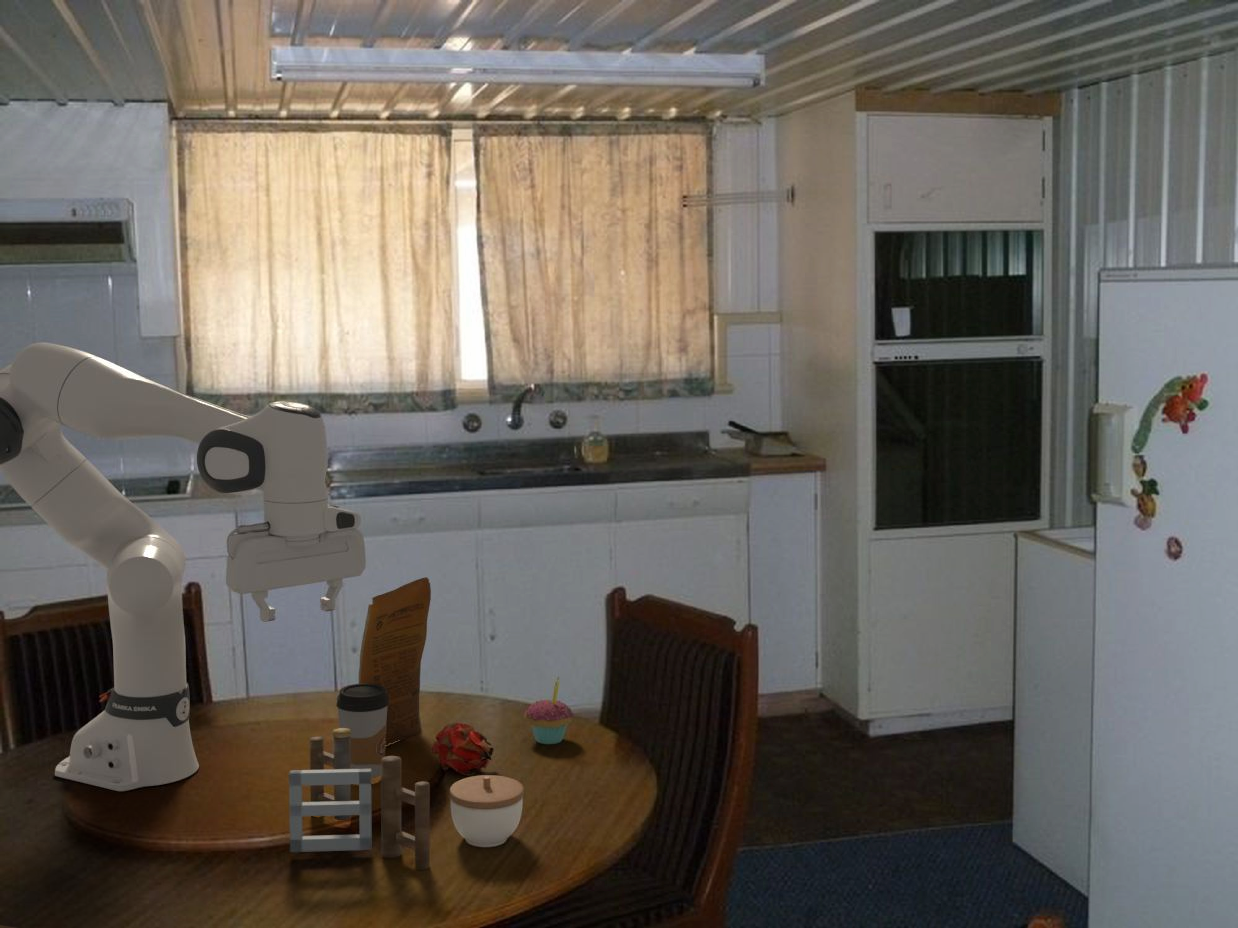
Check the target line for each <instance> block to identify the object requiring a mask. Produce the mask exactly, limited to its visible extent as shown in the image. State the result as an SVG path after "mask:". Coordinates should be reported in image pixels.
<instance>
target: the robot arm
mask: <svg viewBox="0 0 1238 928" xmlns="http://www.w3.org/2000/svg"><path fill="white" fill-rule="evenodd" d="M62 426H63V427H66V428H68V429H71V430H73V431H75V432H78V433H80V434H83V435H87V436H91V437H95V438H99V439H105V440H109V441H110V440H111V441H113V440H114V441H116V440H130V439H131V440H132V439H141V438H142V439H143V438H158V437H159V438H160V437H165V438H176V439H182V440H186V441H188V442H192V443H195V444H197V445H198V448H197V451H196V466H197V470H198V473H199V476H200V477H201V479H202V480H203V481H204V483H205V484H206V485H207V486H208V487H209V488H210V489H212V490H214V491H215V492H218V493H221V494H229V495H236V494H242V493H246V492H249V491H256V490H258V491H259V492H261V493H262V497H263V522H258V523H253V524H248V525H247V524H242V525H238V526H236V527H235V528H234V529H233V530H232V531H230V533H229V534H228V536H227V537H226V552H227V561H226V568H225V569H226V571H225V585H226V586H227V587H228V589H229V590H231V591H232V592H234V593H236V594H238V595H245V594H251V598H252V600H253V602H255V604H256V606H257V607H258V608H259V618H260V621H261V622H263V623H267V622H268V623H269V622H273V621H275V620H276V608H275V607H272V606H269V605H268V603H267V601H266V600H265V599H267V598H268V597H269V595H268V594H269V593H268V592H269V591H273V590H279V589H285V588H290V587H298V586H304V585H305V586H306V585H311V584H315V583H325V582H326V585H328V589H327V590H326V591H327V592H326V594H325V595H324V597H322V596H321V597H320V599H319V603H320V607H319V608H320V610H321V611H323V612H332V611H335V610H336V599H337V598H338V596H339V593H340V592H341V590H342V588H343V579H348V578H355V577H360V576H361V575H362V574H363V573H364V571H365V569H366V564H367V563H366V562H367V561H366V560H367V559H366V558H367V557H366V547H365V539H364V535H363V533H362V532H361V530H359V529H358V528H359V527H360V526H361V523H362V517H361V515H360V513H359V512H355V511H353V510H350V509H345V508H341V507H339V506H337V505H334V504H329V492H328V489H327V486H326V476H327V475H326V474H327V471H328V467H329V458H328V455H329V454H328V441H327V433H326V432H327V431H326V426H325V422H324V418H323V416H322V415H321V413H320V411H319V410H317V408H315V407H313V406H310V405H307V404H304V403H300V402H294V401H293V402H292V401H274V402H270V403H268V404H267V405H265V406H264V407H263V409H261V410H260V411H259V412H257V413H255V414H253V415H251V416H249V415H246V414H242V413H239V412H237V411H233V410H231V409H228V408H225V407H222V406H220V405H216V404H213V403H211V402H208V401H206V400H203V399H200V398H197V397H194V396H191V395H188V394H185V393H182V392H180V391H177V390H175V389H172V388H170V387H167V386H165V385H163V384H160V383H159V382H155V381H153V380H150V379H148V378H147V377H143V376H141V375H140V374H137V373H136V372H133V371H131V370H128V369H126V368H124V367H122V366H120V365H118V364H115V363H113V362H112V361H109V360H107V359H104V358H103V357H102V358H101V357H99V356H97V355H94V354H92V353H89V352H86V351H84V350H79V349H77V348H73V347H69V346H66V345H61V344H56V343H52V342H43V341H42V342H35V343H31V344H29V345H27V346H26V347H24V348H23V349H22V350H20V351H19V352H18V353H17V355H16V356H15V358H14V359H13V361H12V363H10V364H9V365H6V366H5V367H4V368H2V369H1V370H0V473H2V475H3V477H4V478H5V479H6V481H7V482H8V483H9V485H10V486H11V487H12V488H13V490H14V491H15V492H16V493H17V494H18V495H19V497H21V499H22V500H23V501H25V502H26V504H27V505H28V506H29V507H30V508H31V509H32V510H33V511H34V512H36V514H38V515H39V517H40V518H41V519H43V520H44V521H45V522H46V524H48V525H49V526H50V527H51V528H52V529H53V530H54V531H55V533H56V534H58V536H60V537H61V539H63V540H64V541H65V542H66V543H67V544H69V545H71V546H73V547H75V548H77V549H78V550H79V551H80V552H82V553H83V554H85V555H86V556H87V557H89V558H90V559H92V560H93V561H94V562H96V563H97V564H99V566H101V567H102V568H103V569H104V570H105V571H107V573H106V587H107V588H106V589H107V602H108V603H107V605H108V613H109V623H110V631H111V639H112V649H113V650H112V651H113V653H112V654H113V656H112V657H113V678H114V679H113V681H114V682H113V683H114V687H112V688H110V689H108V690H107V691H106V692H105V693H103V694H101V695H99V698H101V699H99V703H102V702H104V701H106V700H107V703H106V705H105V709H104V710H103V711H102V712H101V713H99V714H98V715H97V716H95V717H94V718H93V719H91V720H90V721H89V722H88V723H86V724H85V725H84V726H82V727H81V728H80V729H79V730H78V731H76V733H75V734H74V735H73V738H72V740H71V745H70V751H69V756H68V757H67V756H66V758H64V759H63V760H61V761H60V762H59V763H58V764H57V765H56V766H55V769H54V776H55V777H59V778H62V779H65V780H69V781H70V780H71V781H75V782H78V783H79V782H80V783H83V784H87V785H91V786H95V787H100V788H104V789H108V790H110V791H111V790H112V791H116V792H126V791H130V790H135V789H138V788H144V787H153V786H160V785H165V784H171V783H174V782H177V781H181V780H183V779H187V778H188V777H190V776H192V775H193V774H195V773H197V771H198V769H199V767H200V764H199V762H198V759H197V756H196V753H195V748H194V745H193V744H194V743H193V740H192V735H191V729H190V722H189V721H190V711H191V710H190V709H191V708H190V707H191V704H190V703H191V700H190V699H191V697H190V684H189V683H188V682H187V667H186V665H187V663H186V662H187V660H186V658H187V657H186V635H185V634H186V633H185V625H184V611H183V609H184V608H183V607H184V606H183V592H182V591H183V590H182V588H183V577H184V571H185V567H186V558H185V552H184V550H183V548H182V546H181V544H180V543H179V541H177V539H176V538H174V537H173V535H172V534H170V533H169V532H168V531H167V530H165V529H164V528H163V527H162V526H161V525H160V524H159V523H157V522H156V521H155V520H154V519H153V518H151V516H149V515H148V514H147V513H145V511H143V510H142V509H141V508H139V507H138V506H137V505H135V504H134V503H133V502H132V501H131V500H129V499H128V498H127V497H126V496H125V495H123V494H122V493H121V491H120V490H118V489H117V488H116V487H115V486H114V485H113V484H112V483H111V482H110V481H109V480H108V479H107V478H106V477H105V476H104V475H103V474H102V473H101V472H100V471H99V470H98V469H97V467H95V465H93V463H92V462H90V461H89V460H88V459H87V458H86V457H85V456H84V455H83V453H82V452H80V451H79V450H78V449H77V448H76V447H75V446H74V445H73V444H71V443H70V442H69V440H68V439H67V438H66V437H65V436H64V434H63V432H62Z"/></svg>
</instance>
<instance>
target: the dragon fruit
mask: <svg viewBox="0 0 1238 928" xmlns="http://www.w3.org/2000/svg"><path fill="white" fill-rule="evenodd" d="M435 739H436V740H437V741H435V742H434V744H433V746H432V747H431V749H430V750H431V753H432V754H435V755H436V754H437V755H439V763H440V765H441V768H442V767H443V768H442V770H443V771H446V770H448V769H449V767H451V768H452V769H453V770H455V771H456V772H457V773H459V774H461V776H466V777H467V776H468V777H471V776H477V775H476V773H474V772H472V771H470V770H471V769H481V768H484V769H487V766H488V765H489V764H490V761H492V755H493V752H494V747H493V746H492V743H490V742H489V741H488V738H487V736H485V735H483V734H482V733H481V732H479V731H475V728H474V726H473V725H471V724H468V723H463V722H461V721H455V722H452V723H451V724H449V723H448V724H446V725H445V726H444V728H443V729H441V730H440V731H439V732H438V733H437V734H436V736H435ZM482 741H484V742H485V743H484V742H482ZM489 746H492V747H489Z"/></svg>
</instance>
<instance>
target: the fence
mask: <svg viewBox="0 0 1238 928" xmlns="http://www.w3.org/2000/svg"><path fill="white" fill-rule="evenodd" d="M350 735H351V730H350V729H348V728H339V727H338V728H334V729H333V730H332V736H333V753H330V752H327V751H325V749H324V748H325V747H324V737H323V736H313V737H311V738H309V770H325V765H326V766H328V767H332V768H333V769H350ZM309 786H310V787H309V789H310V790H309V791H310V802H330V801H352V799H351V798H352V797H351V796H352V794H351V793H352V791H351V786H352V785H351V784H350V785H333V794H334V795H331V794H329V793H327V792H325V785H309ZM430 787H431V785H430V782H429V781H418V782H415V783H414V790H411V789H407V788H406V787H402V758H401V757H400V756H396V755H388V756H385V757H384V758H382V759H381V780H380V789H381V792H380V793H381V795H380V796H381V797H380V804H381V805H380V806H381V807H380V808H381V809H380V810H381V814H380V815H381V817H380V819H381V820H380V821H381V826H380V827H381V832H380V833H381V835H380V836H381V837H380V839H381V846H380V847H381V848H380V849H381V857H382V858H385V859H396V858H399V857H401V855H402V846H404V847H406V848H408V849H410V850H413V851H414V868H415V869H416V870H419V871H424V870H428V869H430V860H431V859H430V858H431V857H430V847H431V845H430V843H431V841H430V840H431V839H430V838H431V837H430V835H431V832H430V831H431V830H430V825H431V824H430V822H431V819H430V818H431V817H430V816H431V815H430V814H431V813H430V806H431V805H430V800H431V799H430V797H431V796H430V794H431V793H430V792H431V791H430V790H431V789H430ZM402 802H404V803H406V804H409V805H411V806H412V805H413V807H414V835H412V834H410V833H408V832H405V831H403V830H402ZM333 817H334V818H335V819H337V820H347V819H349V818H350V817H351V818H352V815H337V816H333Z"/></svg>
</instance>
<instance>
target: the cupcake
mask: <svg viewBox="0 0 1238 928" xmlns="http://www.w3.org/2000/svg"><path fill="white" fill-rule="evenodd" d="M559 678H560V676H557V679H556V680H555V682H554V687H553V695H552V700H550V699H544V700H543V699H541V700H536V701H535V702H533V703H532V704H530V705H529V706H528V707H527V709H525V713H524V717H523V720H524V721H525V723H527V724H528V725H530V727H531V730H532V732H533V736H534V739H535V741H536V742H537V743H538V744H543V745H555V744H559V743H561V742H562V741H563V738H564V735H565V734H566V733H565V732H566V730H567V728H568V725H569V724H571V723H572V719H573V718H574V712H573V711H572V710H571V708H570V707H569V706H568V705H567V704H566V703H565V702H562V701H560V700H558V699H557V697H558V693H559V692H558V691H559V684H560V681H559Z"/></svg>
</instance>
